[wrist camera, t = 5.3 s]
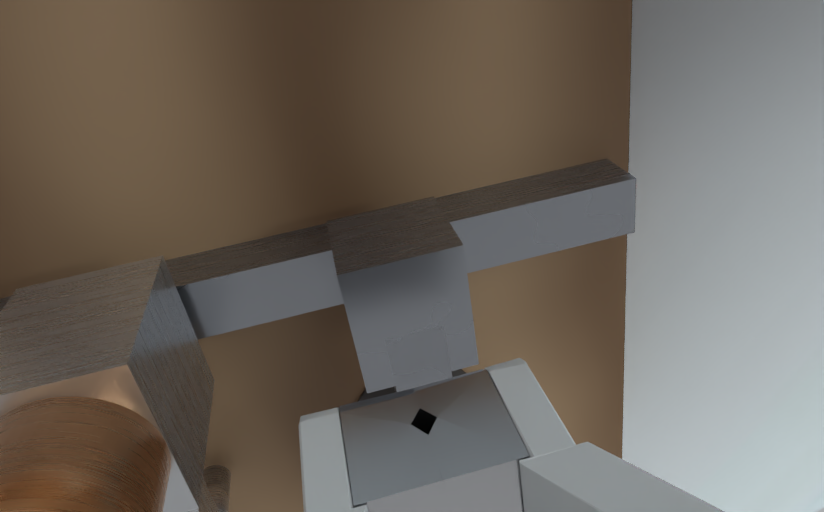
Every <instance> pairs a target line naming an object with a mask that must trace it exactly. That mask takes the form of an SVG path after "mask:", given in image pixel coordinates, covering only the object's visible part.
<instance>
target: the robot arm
mask: <svg viewBox="0 0 824 512" xmlns="http://www.w3.org/2000/svg"><path fill="white" fill-rule="evenodd" d="M298 426H299V442H300V459H301V475H302V492H303V508H304V512H724V511H722V510H720V509H718V508H716V507H714V506H712V505H710V504H709V503H707V502H705V501H703V500H701V499H699V498H697V497H695V496H693V495H691V494H689V493H687V492H685V491H683V490H681V489H679V488H677V487H675V486H673V485H671V484H669V483H668V482H666V481H664V480H662V479H660V478H658V477H656V476H654V475H652V474H650V473H648V472H646V471H644V470H642V469H640V468H638V467H636V466H634V465H632V464H630V463H629V462H627V461H625V460H623V459H621V458H619V457H617V456H615V455H613V454H611V453H609V452H607V451H605V450H603V449H601V448H599V447H597V446H595V445H593V444H591V443H589V442H584V443H581V444H577V445H576V443H575V442H574V440H573V439H572V437H571V435H570V434H569V432H568V430H567V429H566V427H565V425H564V424H563V422H562V420H561V419H560V417H559V416H558V414H557V412H556V411H555V409H554V407H553V406H552V404H551V402H550V401H549V399H548V397H547V396H546V394H545V393H544V391H543V389H542V388H541V386H540V384H539V383H538V381H537V379H536V378H535V376H534V374H533V373H532V371H531V370H530V368H529V366H528V365H527V363H526V361H524V360H523V359H521V358H517V359H514V360H510V361H507V362H503V363H500V364H496V365H493V366H489V367H486V368H485V369H481V370H477V371H474V372H470V373H466V374H463V375H459V376H455V377H452V378H448V379H444V380H441V381H437V382H434V383H430V384H426V385H423V386H419V387H415V388H412V389H408V390H404V391H399V392H395V393H391V394H387V395H383V396H379V397H375V398H370V399H366V400H362V401H358V402H354V403H350V404H346V405H342V406H339V408H332V409H328V410H324V411H320V412H316V413H312V414H307V415H303V416H301V417H300V421H299V425H298Z"/></svg>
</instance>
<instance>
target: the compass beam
mask: <svg viewBox="0 0 824 512" xmlns="http://www.w3.org/2000/svg"><path fill="white" fill-rule="evenodd" d="M635 197H636V178H635V177H633V176H632V175H630V174H629V173H628V172H626V171H625V170H623V169H622V168H620V167H619V166H617V165H616V164H614V163H613V162H611V161H610V160H608V159H607V158H606V159H601V160H597V161H593V162H588V163H584V164H580V165H575V166H571V167H567V168H563V169H558V170H554V171H550V172H545V173H541V174H537V175H532V176H528V177H524V178H519V179H515V180H511V181H506V182H502V183H498V184H493V185H489V186H485V187H480V188H476V189H472V190H467V191H463V192H459V193H454V194H450V195H446V196H441V197H437V198H434V196H432V197H428V198H424V199H419V200H415V201H411V202H406V203H402V204H398V205H393V206H389V207H385V208H380V209H376V210H372V211H367V212H363V213H359V214H354V215H350V216H346V217H341V218H337V219H333V220H328V221H326V222H327V223H325V224H320V225H316V226H312V227H307V228H303V229H299V230H295V231H290V232H286V233H282V234H277V235H273V236H269V237H264V238H260V239H256V240H251V241H247V242H243V243H238V244H234V245H230V246H225V247H221V248H217V249H212V250H208V251H204V252H199V253H195V254H191V255H186V256H182V257H178V258H173V259H169V260H165V262H166V264H167V267H168V269H169V272H170V274H171V276H172V279H173V281H174V284H175V286H176V289H177V291H178V293H179V296H180V298H181V301H182V303H183V305H184V308H185V310H186V313H187V315H188V317H189V320H190V322H191V325H192V327H193V329H194V332H195V334H196V337H197V339H202V338H206V337H210V336H214V335H218V334H222V333H226V332H231V331H235V330H239V329H243V328H247V327H251V326H255V325H259V324H263V323H267V322H271V321H275V320H279V319H283V318H288V317H292V316H296V315H300V314H304V313H308V312H312V311H316V310H320V309H324V308H328V307H332V306H336V305H340V304H344V305H345V309H346V313H347V317H348V321H349V325H350V329H351V333H352V336H353V340H354V344H355V348H356V352H357V356H358V360H359V364H360V368H361V372H362V376H363V379H364V383H365V387H366V391H367V393H371V392H375V391H379V390H382V389H386V388H390V387H394V388H395V392H399V391H404V390H408V389H412V388H415V387H419V386H423V385H426V384H430V383H434V382H437V381H441V380H444V379H448V378H452V372H451V371H455V370H459V369H463V368H466V367H470V366H474V365H478V364H479V360H478V352H477V345H476V337H475V329H474V322H473V314H472V306H471V299H470V291H469V283H468V276H467V273H471V272H475V271H479V270H483V269H487V268H491V267H495V266H499V265H503V264H507V263H511V262H516V261H520V260H524V259H528V258H532V257H536V256H540V255H544V254H548V253H552V252H556V251H560V250H564V249H568V248H573V247H577V246H581V245H585V244H589V243H593V242H597V241H601V240H605V239H609V238H613V237H617V236H621V235H625V234H630V233H634V231H635ZM10 297H11V296H9V297H5V298H1V299H0V312H1V310H2V309H3V307H4V306H5V304H6V303H7V302H8V300H9V299H10Z"/></svg>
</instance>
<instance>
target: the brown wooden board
mask: <svg viewBox="0 0 824 512" xmlns="http://www.w3.org/2000/svg"><path fill="white" fill-rule="evenodd" d="M631 29H632V0H0V299H1V298H5V297H9V296H12V295H13V293H14V292H15V290H16V289H19V288H23V287H28V286H32V285H36V284H41V283H45V282H49V281H54V280H58V279H62V278H67V277H71V276H75V275H80V274H84V273H88V272H93V271H97V270H101V269H106V268H110V267H114V266H119V265H123V264H127V263H132V262H136V261H140V260H145V259H149V258H154V257H158V256H162V255H163V257H164V260H169V259H173V258H178V257H182V256H186V255H191V254H195V253H199V252H204V251H208V250H212V249H217V248H221V247H225V246H230V245H234V244H238V243H243V242H247V241H251V240H256V239H260V238H264V237H269V236H273V235H277V234H282V233H286V232H290V231H295V230H299V229H303V228H307V227H312V226H316V225H320V224H325V223H327V222H326V221H328V220H333V219H337V218H341V217H346V216H350V215H354V214H359V213H363V212H367V211H372V210H376V209H380V208H385V207H389V206H393V205H398V204H402V203H406V202H411V201H415V200H419V199H424V198H428V197H432V196H434V198H437V197H441V196H446V195H450V194H454V193H459V192H463V191H467V190H472V189H476V188H480V187H485V186H489V185H493V184H498V183H502V182H506V181H511V180H515V179H519V178H524V177H528V176H532V175H537V174H541V173H545V172H550V171H554V170H558V169H563V168H567V167H571V166H575V165H580V164H584V163H588V162H593V161H597V160H601V159H606V158H607V159H608V160H610V161H611V162H613V163H614V164H616V165H617V166H619V167H620V168H622V169H623V170H625V171H626V172H628V163H629V118H630V74H631ZM626 252H627V234H625V235H621V236H617V237H613V238H609V239H605V240H601V241H597V242H593V243H589V244H585V245H581V246H577V247H573V248H568V249H564V250H560V251H556V252H552V253H548V254H544V255H540V256H536V257H532V258H528V259H524V260H520V261H516V262H511V263H507V264H503V265H499V266H495V267H491V268H487V269H483V270H479V271H475V272H471V273H467V276H468V283H469V291H470V299H471V306H472V314H473V322H474V329H475V337H476V345H477V352H478V360H479V364H478V365H474V366H470V367H466V368H463V369H459V370H455V371H451V372H452V377H455V376H459V375H463V374H466V373H470V372H474V371H477V370H481V369H485V368H486V367H489V366H493V365H496V364H500V363H503V362H507V361H510V360H514V359H517V358H521V359H523V360H524V361H526V363H527V365H528V366H529V368H530V370H531V371H532V373H533V374H534V376H535V378H536V379H537V381H538V383H539V384H540V386H541V388H542V389H543V391H544V393H545V394H546V396H547V397H548V399H549V401H550V402H551V404H552V406H553V407H554V409H555V411H556V412H557V414H558V416H559V417H560V419H561V420H562V422H563V424H564V425H565V427H566V429H567V430H568V432H569V434H570V435H571V437H572V439H573V440H574V442H575V443H576V445H577V444H581V443H584V442H589V443H591V444H593V445H595V446H597V447H599V448H601V449H603V450H605V451H607V452H609V453H611V454H613V455H615V456H617V457H619V458H621V459H622V430H623V385H624V341H625V296H626ZM198 341H199V344H200V346H201V349H202V351H203V354H204V356H205V358H206V361H207V363H208V366H209V368H210V370H211V373H212V375H213V378H214V380H215V381H214V390H213V398H212V406H211V414H210V422H209V431H208V439H207V447H206V455H205V464H204V469H205V468H206V467H209V466H212V465H221V466H224V467H226V468H228V469H229V470H230V472H231V483H230V497H229V511H228V512H304V508H303V492H302V475H301V459H300V442H299V426H298V425H299V421H300V417H301V416H303V415H307V414H312V413H316V412H320V411H324V410H328V409H332V408H339V406H342V405H346V404H350V403H354V402H358V401H362V400H366V399H370V398H375V397H379V396H383V395H387V394H391V393H395V388H394V387H390V388H386V389H382V390H379V391H375V392H371V393H367V391H366V387H365V383H364V379H363V376H362V372H361V368H360V364H359V360H358V356H357V352H356V348H355V344H354V340H353V336H352V333H351V329H350V325H349V321H348V317H347V313H346V309H345V305H344V304H340V305H336V306H332V307H328V308H324V309H320V310H316V311H312V312H308V313H304V314H300V315H296V316H292V317H288V318H283V319H279V320H275V321H271V322H267V323H263V324H259V325H255V326H251V327H247V328H243V329H239V330H235V331H231V332H226V333H222V334H218V335H214V336H210V337H206V338H202V339H198Z"/></svg>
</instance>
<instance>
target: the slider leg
mask: <svg viewBox="0 0 824 512" xmlns="http://www.w3.org/2000/svg"><path fill="white" fill-rule="evenodd" d="M214 381H215V380H214V378H213V375H212V373H211V370H210V368H209V366H208V363H207V361H206V358H205V356H204V354H203V351H202V349H201V346H200V344H199V341H198V339H197V337H196V334H195V332H194V329H193V327H192V325H191V322H190V320H189V317H188V315H187V313H186V310H185V308H184V305H183V303H182V301H181V298H180V296H179V293H178V291H177V289H176V286H175V284H174V281H173V279H172V276H171V274H170V272H169V269H168V267H167V264H166V262H165V260H164V257H163V255H162V256H158V257H154V258H149V259H145V260H140V261H136V262H132V263H127V264H123V265H119V266H114V267H110V268H106V269H101V270H97V271H93V272H88V273H84V274H80V275H75V276H71V277H67V278H62V279H58V280H54V281H49V282H45V283H41V284H36V285H32V286H28V287H23V288H19V289H16V290H15V292H14V293H13V295H12V296H11V297H10V299H9V300H8V302H7V303H6V304H5V306H4V307H3V309H2V310H1V312H0V512H228V511H229V497H230V483H231V472H230V470H229V469H228V468H226V467H224V466H221V465H212V466H209V467H206V468H205V469H204V464H205V455H206V447H207V439H208V431H209V422H210V414H211V406H212V398H213V390H214Z"/></svg>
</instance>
